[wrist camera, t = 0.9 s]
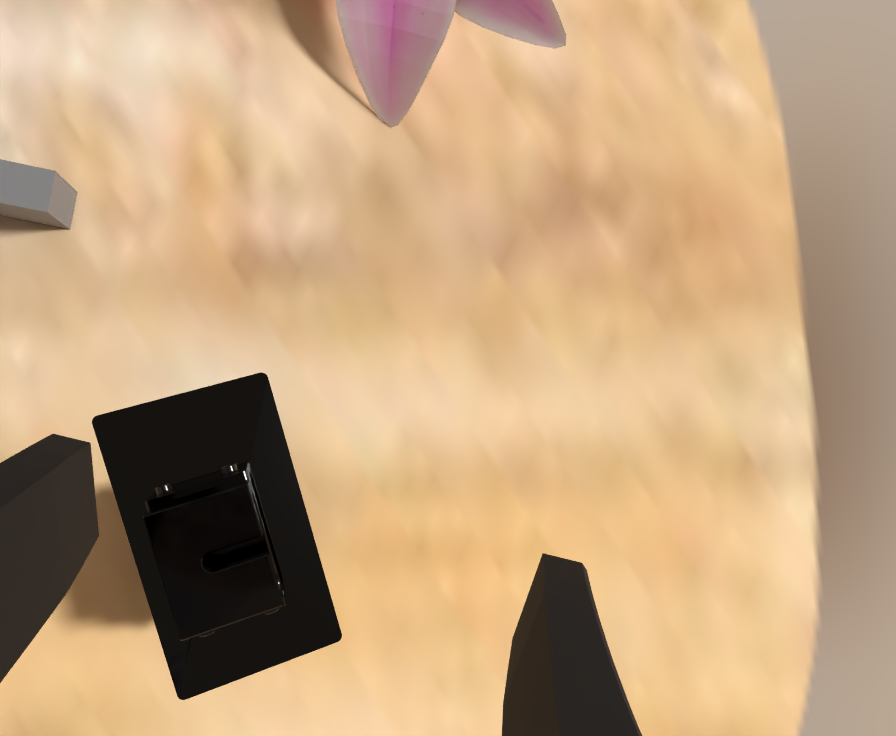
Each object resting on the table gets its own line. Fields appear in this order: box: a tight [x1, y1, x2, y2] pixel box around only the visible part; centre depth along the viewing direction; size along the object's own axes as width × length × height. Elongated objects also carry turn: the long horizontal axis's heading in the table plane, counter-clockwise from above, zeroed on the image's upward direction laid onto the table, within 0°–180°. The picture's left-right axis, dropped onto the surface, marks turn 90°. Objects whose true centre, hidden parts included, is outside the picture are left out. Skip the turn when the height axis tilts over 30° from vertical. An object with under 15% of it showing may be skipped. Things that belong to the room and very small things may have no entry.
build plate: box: [92, 373, 342, 700], centre depth 24 cm, size 12×7×5 cm, turn 16°
